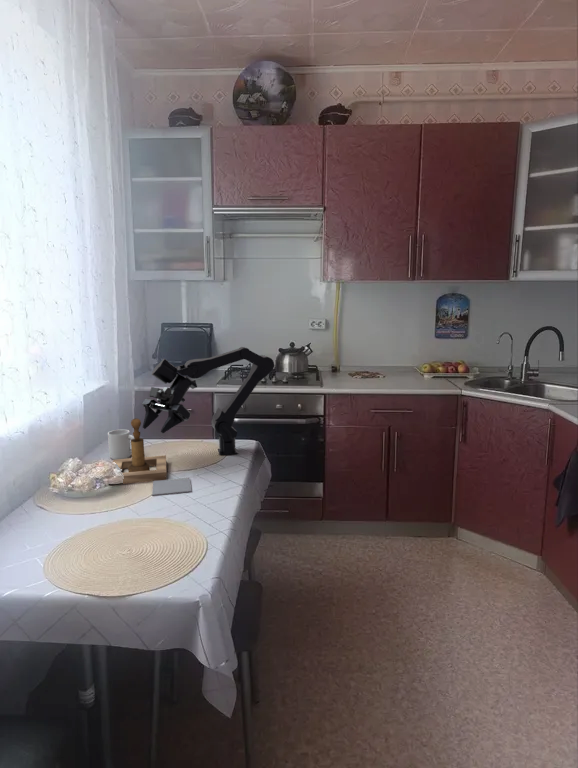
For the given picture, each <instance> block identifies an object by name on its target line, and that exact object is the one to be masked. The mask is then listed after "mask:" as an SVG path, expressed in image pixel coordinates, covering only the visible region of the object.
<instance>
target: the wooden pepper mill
mask: <svg viewBox="0 0 578 768" xmlns="http://www.w3.org/2000/svg"><path fill="white" fill-rule="evenodd" d="M130 425H131V427H132V429H133V432H132V436H134V439H132V440H130V449H131V450H132V454H131V458H132V464H131V465H130V466H129V467H128V469H127V471H128V472H138V471H149V470H151V469H150V468H151V467H150V466H149V464H147V463H146V462H145V457H146V456H145V443H144V438H141V431H139V429H140V427H141V425H142V421H141V419H139V418H138V417H137V418H132V420H131V422H130Z"/></svg>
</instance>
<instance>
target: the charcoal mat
mask: <svg viewBox="0 0 578 768" xmlns="http://www.w3.org/2000/svg"><path fill="white" fill-rule="evenodd" d="M151 493H152V494H151V495H152V497H155V496H156V497H157V496H166V495H174V494H185V493H186V494H187V493H192V485H191V478H190V477H183V478H172V479H167V480H159V481H152V492H151Z"/></svg>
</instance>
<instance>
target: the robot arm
mask: <svg viewBox="0 0 578 768" xmlns="http://www.w3.org/2000/svg"><path fill="white" fill-rule="evenodd" d="M243 360H246V361H248V362H249V363H251V364H252V365H251V368H250V370H249V374H248V375H247V377H246V378H245V379H244V380H243V382H242V384H241V385H240V386H239V388H238V390H237V391H236V392H235V394H234V395H233V397H232V398H231V400H230V401H229V402H228V403H227V404H226V406H225V407H224V408H222V409H221V408H220V407H218V408H217V409H216V411H215V413H214V414H213V415H212V416H211V417H212V419H211V426H212V428H213V429H214V430H215V432H216V433H217V434H218V441H219V448H217V452H218V455H219V456H225V455H227V456H228V455H236V454H237V455H238V453H239V452H238V450H237V447H236V438H237V437H238V436H237V435H238V431H237V430H236V429H235V428H234V427H233V424H234V423H235V419H236V415H237V414H238V412H239V410H240V409H241V408H242V407H243V405H245V403H246V401H247V400H248V399H249V397H250V395H252V394H251V393H252V392H253V391H254V390H255V388H256V387H257V385H259V383H260V382H261V381H262V380H264V379H265V378H266V377H267V376H268V375H269V374H270V373H272V371H274V368H275V363H274V360H273V359H272V358H271V357H269V356H266V355H263V354H261V355H259V354H257V353H255V352H254V351H252V350H250V349H249V348H247V347H245V346H241V347H239V348H236V349H233V350H230V351H227V352H223V353H221V354H217V355H214V356H211V357H206V358H204V357H203V358H194V359H189V360H187V361H186V362H185V364H181V365H177V366H175V365H173V364H172V363H171V362H170V361H169V360H167V359H166V358H162V361H160V362H159V363H158V364H156V366H155V367H154V369H153V370H152V372H151V375H152V376H153V377H154V378H156V379H158V380H159V381H161V382H162V383H163V384H164V385H166V384H167V383H168V384H171V385H170V386H169V387H166V386H164V387H163V388H159V387H155V386H154V387H153V386H151V387H150V390H149V393H148V397H150V398H144V399H143V401H142V403H141V405H142V406H143V409H144V410H145V415H144V420H143V424H142V429H144V430H145V429H147V428H148V427H150V425H151V424H153V422H155V420H156V419H157V418H159V416H160V415H159V414H161V413H162V411H163V412H167V413H168V417H167V418H166V420H165V422H164V423H163V426H162V428H161V429H160V433H162V434H164V433H167V432H168V431H169V430H172V428H174V427H176V426H178V425H179V424H181V423H184V422H185V421H186V422H187V421H189V419H190V418H191V411H190V410H188V408H187V407H185V405H184V404H182V403H184V402H185V401H186V399H185V395H186V394H187V392H188V391H189V389H191V390H194V389H196V388H198V384H197V380H196V379H199V378H201V377H202V376H204V375H206V374H209V372H211V371H213V370H214V369H217V368H221V367H223V366H227V365H230V364H233V363H236V362H240V361H243ZM192 379H194V380H192Z"/></svg>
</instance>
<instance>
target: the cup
mask: <svg viewBox="0 0 578 768" xmlns="http://www.w3.org/2000/svg"><path fill="white" fill-rule="evenodd" d="M107 438H108V439H107V442H108V443H107V444H108V453H109V458H110V459H111V460H116V459H128V458H130V457H131V456H132V450H131V440H132V439H134V436H133V434H130V430H129V429H116V430H115V429H114V430H111V431H108V432H107Z"/></svg>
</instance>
